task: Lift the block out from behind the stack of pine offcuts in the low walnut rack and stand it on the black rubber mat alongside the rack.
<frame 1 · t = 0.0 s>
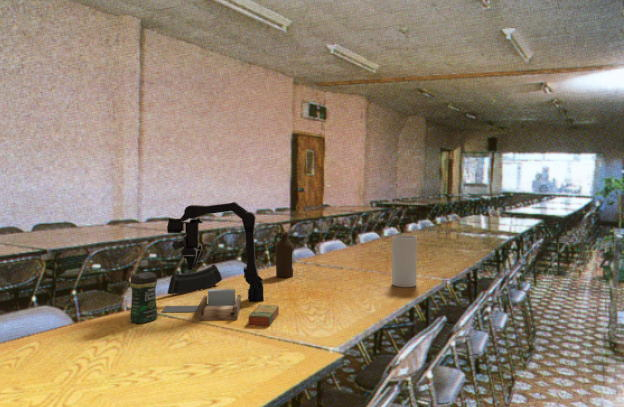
hand: (192, 268, 210), 15 cm above the table, tool pointing down, fingers open, 9 cm apart
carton: (264, 321, 184), on the table
coffee jar: (144, 320, 182), on the table
magazine: (196, 290, 231), on the table
olive oil: (284, 276, 264), on the table
rack: (220, 313, 192), on the table
cylinder vase: (404, 285, 244), on the table
mat: (183, 309, 197), on the table
offcut stack: (218, 316, 188), resting in rack
block: (221, 308, 199), resting in rack
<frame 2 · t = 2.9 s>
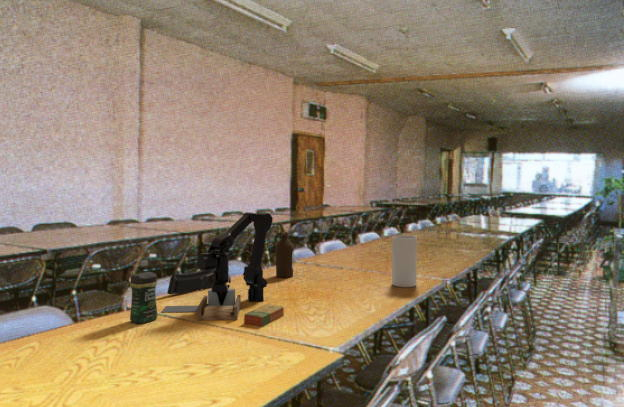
hand: (221, 303, 198), 2 cm above the table, tool pointing down, fingers closed on block, 3 cm apart
block: (221, 308, 198), resting in rack, touching gripper
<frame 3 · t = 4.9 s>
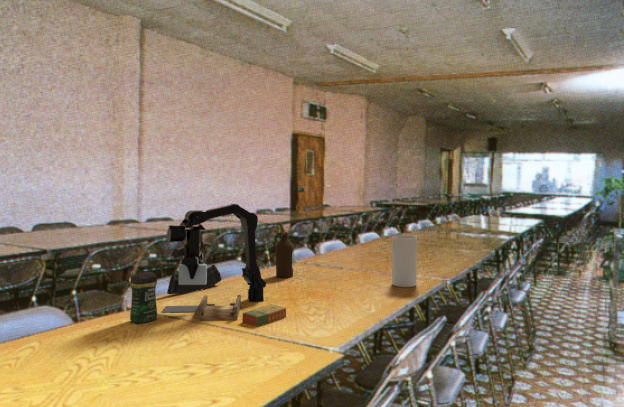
hand: (192, 278, 196), 13 cm above the table, tool pointing down, fingers closed on block, 3 cm apart
block: (192, 283, 197), point 11 cm above the table, touching gripper
when the fingers open (3 cm above the table, at t = 7.2 s): block stays where it is, resting on mat.
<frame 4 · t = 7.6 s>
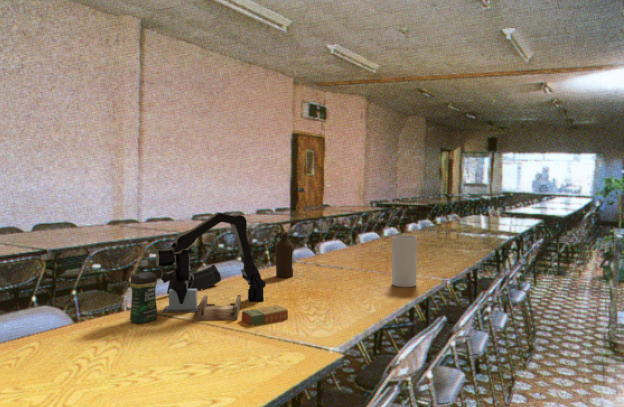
hand: (183, 301, 197), 3 cm above the table, tool pointing down, fingers open, 7 cm apart
block: (183, 308, 197), resting on mat
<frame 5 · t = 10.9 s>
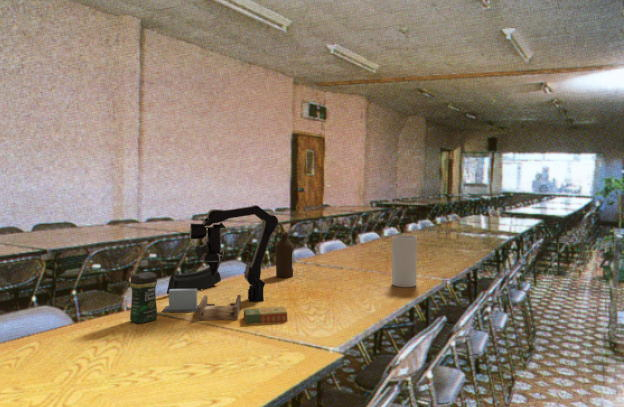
hand: (214, 274, 206), 13 cm above the table, tool pointing down, fingers open, 9 cm apart
at the end: block inside the target area (0.0 cm from its centre), resting on mat; the gripper is holding nothing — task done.
